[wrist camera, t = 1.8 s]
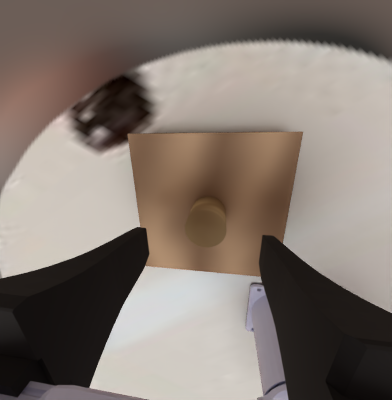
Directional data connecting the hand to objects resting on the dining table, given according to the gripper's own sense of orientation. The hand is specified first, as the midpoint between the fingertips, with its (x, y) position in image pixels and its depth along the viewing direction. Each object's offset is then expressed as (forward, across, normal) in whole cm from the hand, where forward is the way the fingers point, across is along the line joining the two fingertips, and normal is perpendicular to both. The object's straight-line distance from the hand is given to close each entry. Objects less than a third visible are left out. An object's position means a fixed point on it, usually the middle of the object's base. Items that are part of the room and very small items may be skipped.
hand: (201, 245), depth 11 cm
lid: (+6, 0, 0) cm, 6 cm away
